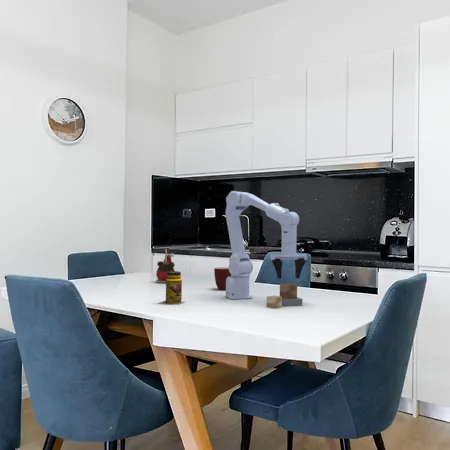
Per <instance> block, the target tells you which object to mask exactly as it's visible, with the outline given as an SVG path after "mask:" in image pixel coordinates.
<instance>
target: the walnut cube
mask: <svg viewBox="0 0 450 450" xmlns="http://www.w3.org/2000/svg"><path fill="white" fill-rule="evenodd" d="M279 296H280V297H282V298H284V299H293V298H297V297H298V284H294V283H279Z"/></svg>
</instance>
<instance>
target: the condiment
mask: <svg viewBox="0 0 450 450" xmlns="http://www.w3.org/2000/svg"><path fill="white" fill-rule="evenodd" d="M181 275H182V273H181V271H178V270H177V271H176V270H174V271H170V272H167V279H166V283H165V300H163V301H161V302H159V304H161V305H172V306H174V305H175V306H178V305H181V304H183V303H185V301H182V298H183V295H182V293H183V292H182V290H183V289H182V288H183V286H182V285H183V281H182V276H181Z"/></svg>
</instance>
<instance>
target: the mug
mask: <svg viewBox="0 0 450 450" xmlns="http://www.w3.org/2000/svg"><path fill="white" fill-rule="evenodd" d="M213 270H214V281H215V285H216V287H217V289H218V291H226V279H227V277H231V274H230V272H229V267H222V266H221V267H214V269H213Z"/></svg>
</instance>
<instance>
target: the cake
mask: <svg viewBox="0 0 450 450" xmlns="http://www.w3.org/2000/svg"><path fill="white" fill-rule="evenodd" d="M173 257H175V254H174V253H168V247H164V259H163V261H162V260H161V261H160V260H159V261H158V262H157V264H156V265H157V266H158V268H157V270H156V274H155V275H156V277H157V278H156V283H160V284H166V279H167V272H170V271H175V268H174V267H175V262H173V261H172V258H173Z"/></svg>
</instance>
